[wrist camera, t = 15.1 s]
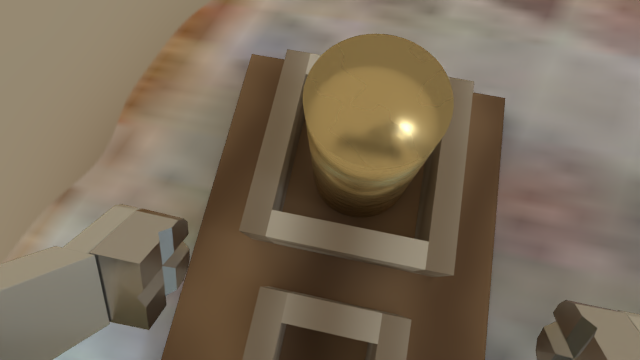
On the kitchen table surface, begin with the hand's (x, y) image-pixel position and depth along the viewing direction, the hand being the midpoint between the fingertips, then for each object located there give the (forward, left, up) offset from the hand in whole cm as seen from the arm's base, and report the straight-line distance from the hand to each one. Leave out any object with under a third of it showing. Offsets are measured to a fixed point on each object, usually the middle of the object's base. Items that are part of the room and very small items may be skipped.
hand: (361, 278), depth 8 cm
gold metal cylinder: (0, -6, -11) cm, 12 cm away
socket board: (0, -1, -12) cm, 12 cm away
